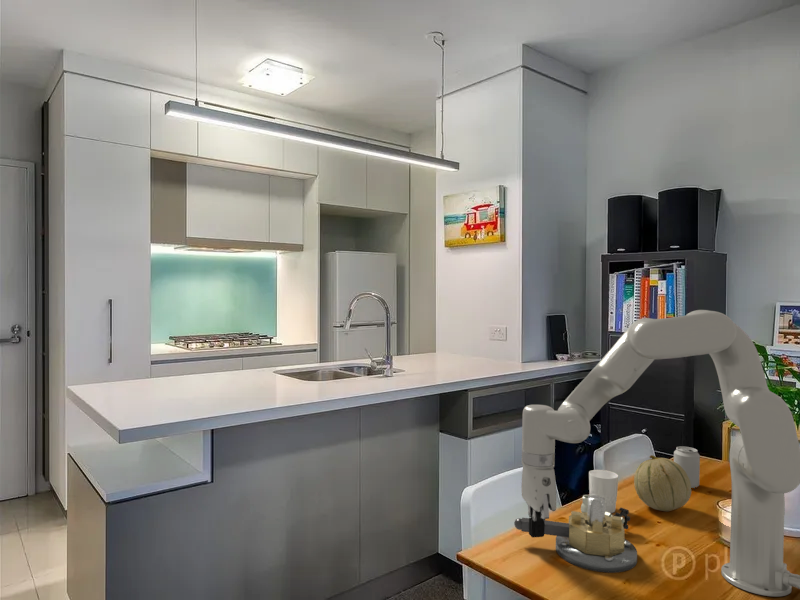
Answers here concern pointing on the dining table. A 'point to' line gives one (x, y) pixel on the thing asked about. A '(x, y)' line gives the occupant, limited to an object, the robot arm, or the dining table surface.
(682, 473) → the cantaloupe
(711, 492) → the dining table surface
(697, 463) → the can
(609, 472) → the white cup
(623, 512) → the valve
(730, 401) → the robot arm
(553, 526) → the castle nut fixture
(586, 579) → the dining table surface
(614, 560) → the cap plate
